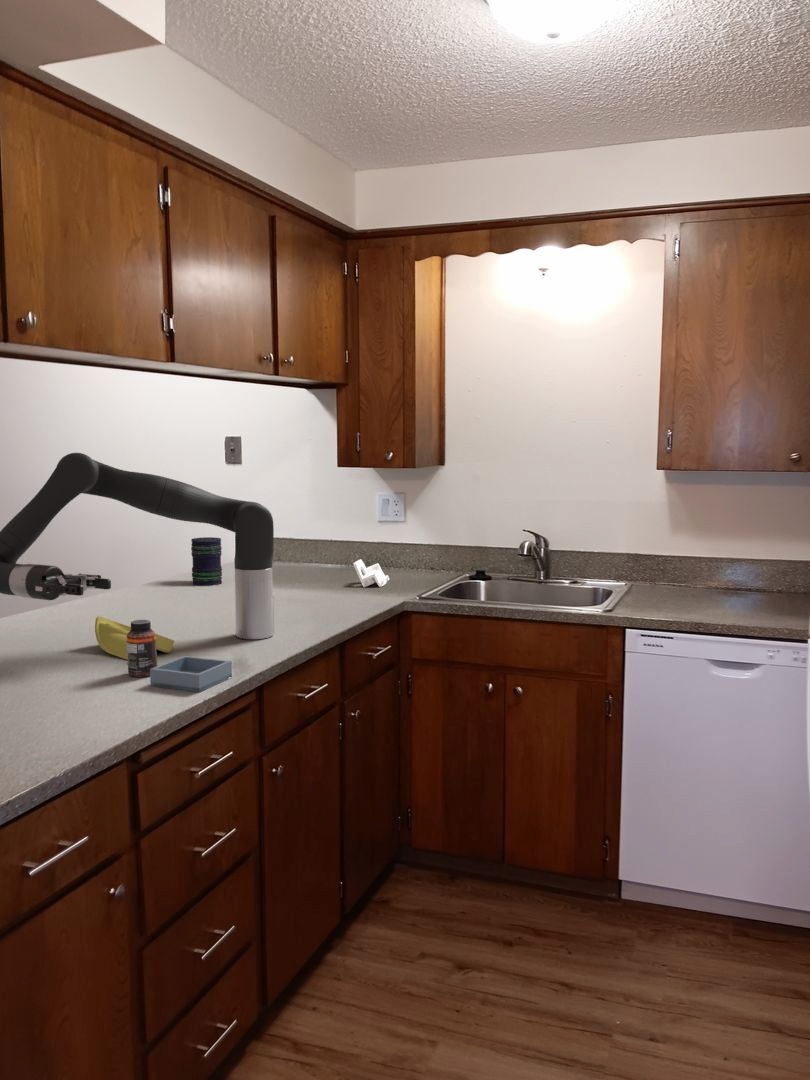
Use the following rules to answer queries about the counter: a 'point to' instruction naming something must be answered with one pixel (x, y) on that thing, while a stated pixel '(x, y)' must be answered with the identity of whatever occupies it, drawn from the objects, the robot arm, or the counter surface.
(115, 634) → the plastic component
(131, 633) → the supplement bottle
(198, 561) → the storage jar
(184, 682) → the parts tray
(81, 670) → the counter surface
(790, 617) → the counter surface
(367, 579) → the mounting bracket
